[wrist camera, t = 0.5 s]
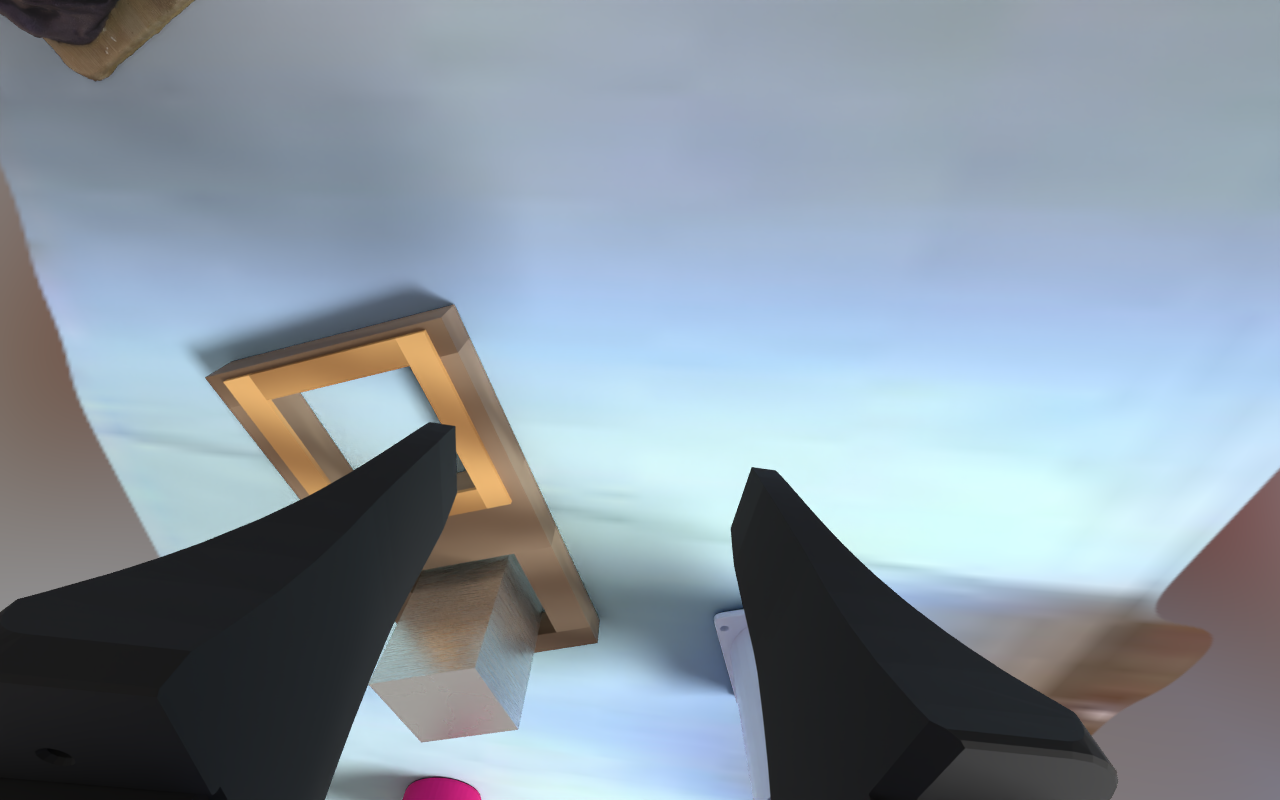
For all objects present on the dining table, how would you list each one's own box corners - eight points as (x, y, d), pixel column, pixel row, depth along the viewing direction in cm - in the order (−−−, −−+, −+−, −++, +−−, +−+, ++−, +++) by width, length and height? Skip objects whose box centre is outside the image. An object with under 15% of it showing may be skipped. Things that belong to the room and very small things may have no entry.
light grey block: (544, 602, 29) (518, 729, 23) (466, 615, 30) (421, 742, 24) (512, 543, 27) (474, 668, 21) (428, 558, 28) (368, 684, 22)
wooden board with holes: (599, 620, 30) (597, 646, 29) (440, 645, 31) (430, 671, 30) (454, 304, 20) (439, 319, 19) (231, 361, 21) (201, 379, 20)
